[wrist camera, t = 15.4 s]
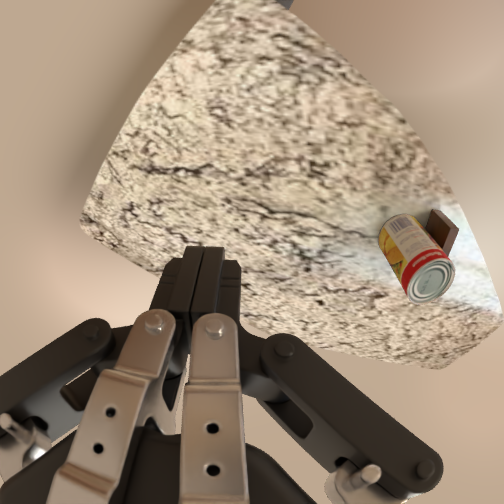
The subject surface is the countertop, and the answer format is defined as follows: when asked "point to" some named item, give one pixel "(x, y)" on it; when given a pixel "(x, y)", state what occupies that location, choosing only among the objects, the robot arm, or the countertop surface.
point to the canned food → (416, 259)
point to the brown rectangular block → (442, 230)
